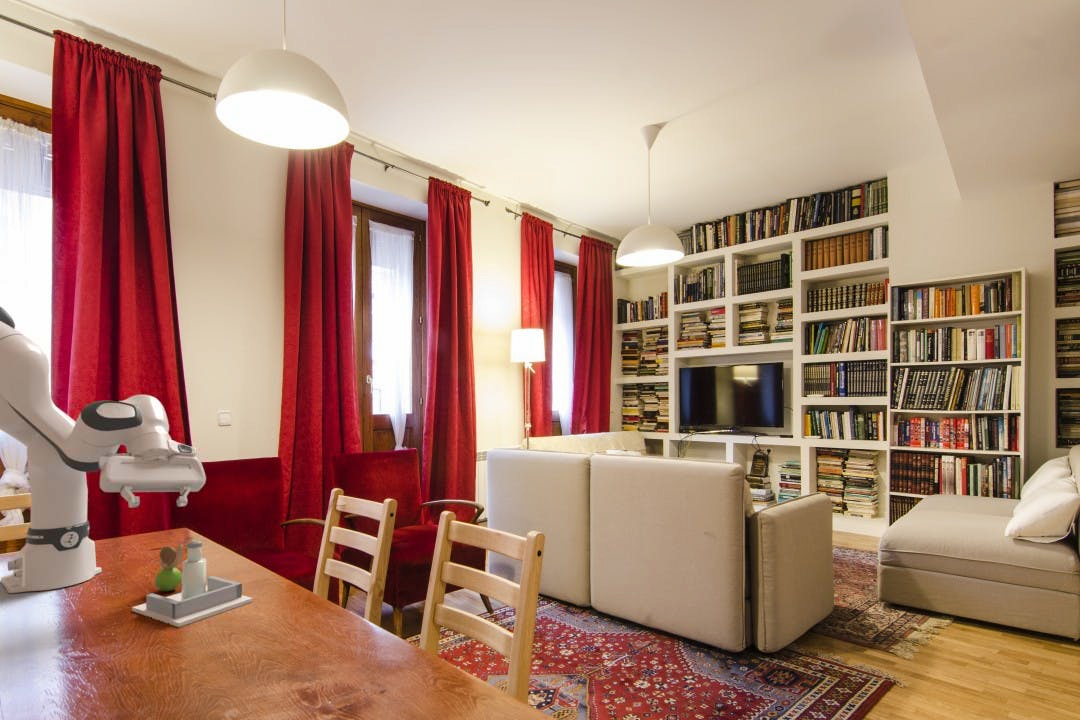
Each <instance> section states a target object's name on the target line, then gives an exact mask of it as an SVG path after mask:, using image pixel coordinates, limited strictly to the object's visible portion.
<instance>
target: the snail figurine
mask: <svg viewBox="0 0 1080 720" xmlns="http://www.w3.org/2000/svg"><path fill="white" fill-rule="evenodd" d="M184 542H185V540H184V539H181V540H179V545H177V546H176V549H175V548H174V547H173V546H171V545H167V546H164V547H163V548H162V549H161V550H160V552H159V559H160V562H159V565H160V567H161V568H163V569H161V570H160V571H159V572H158V573H157V574H156V576H155V580H154V585H155V587H156V588H157V589H158V590H159V591H162V592H165V593H166V592H171V591H173V590H175V589H177V588H178V587H179V586H180V584H182V571H181V570H179V569H178V568H177V567H178V565H179V564H180V562H181V559H182V555H183V550H184V544H182V543H184Z"/></svg>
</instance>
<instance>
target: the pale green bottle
mask: <svg viewBox="0 0 1080 720" xmlns="http://www.w3.org/2000/svg"><path fill="white" fill-rule="evenodd" d="M202 546H203V541H202V540H193V541H188V542H187V543H186V548H187V559H185V560H183V561H182V562H181V574H182V581H181V593H182V594H181V600H184V599H187V598H191V597H194V596H197V595H200V594H203V593H206V585H207V558H206V557H202Z"/></svg>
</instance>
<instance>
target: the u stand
mask: <svg viewBox="0 0 1080 720" xmlns="http://www.w3.org/2000/svg"><path fill="white" fill-rule="evenodd" d="M242 588H243V583H241V582H239V581H233V580H230V579H226V578H222V577H218V576H215V575H212V576H211V575H210V576H209V577H207V584H206V593H203V594H200V595H197V596H194V597H191V598H187V599H184V600H181V594H182V592H178V593H176V594H171V595H169V596H166V597H165V596H163V595H159V594H156V593H153V592H152V593H149V594H145V595H146V598H145V599H146V602H145V603H142V604H139V605H135V606H132V607H131V608H132V609H131V611H132V612H134V613H137V614H140V615H142V616H145V617H148V616H149V617H148V618H151V617H152V619H154V620H156V621H159V620H160V621H159V622H162V621H163V622H162V623H165V624H168V623H169V625H172V626H174V627H176V628H181V627H184V626H187V625H189V624H191V623H195V622H198V621H201V620H204V619H207V618H210V617H212V616H215V615H218V614H221V613H224V612H227V611H230V610H232V609H236V608H238V607H242V606H244V605H246V604H247V605H248V604H250V603H253V602H254V601H253V599H254V598H253V597H250V596H246V595H242V594H243V589H242Z"/></svg>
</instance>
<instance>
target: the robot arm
mask: <svg viewBox="0 0 1080 720" xmlns="http://www.w3.org/2000/svg"><path fill="white" fill-rule="evenodd" d="M49 364H50V363H49V359H48V357H47V355H46V353H44V351H43V350H42V348H40V347H39V346H38V344H36V343H35V342H34V341H32V340H31V339H29V338H28V337H27V336H26V335H24V334H23V333H21V332H20V331H18V330H17V329H16V324H15V321H14V319H13V317H12V316H11V315H10V314H9V313H8V312H7V311H6V310H5V309H4V308H3V307H2V306H0V430H1V431H2V432H4V433H5V434H7V435H9V436H10V437H12V438H13V439H15V440H16V441H18V442H20V443H21V444H22V445H24V446H25V447H26V457H27V471H28V474H27V475H28V482H29V489H30V526H29V527H28V528H27V533H26V535H25V536H26V537H25V545H24V546H23V547H22V548H20V549H21V550H19V552H18V553H16V555H15V556H14V558H13V560H12V559H11V560H9V561H8V562H7V571H9V572H11V571H12V573H9V574H6V575H3V576H2V577H0V583H1V584H2V586H3V587H4V588H5V589H6V591H7V593H9V594H16V593H25V592H36V591H49V590H54V589H55V590H56V589H61V588H65V587H70V586H74V585H78V584H80V583H81V584H82V583H84V582H86V581H89V580H91V579H92V578H93V577H95V576H96V575H97V574H100V573H102V567H100V566H97V561H96V560H97V559H96V544H95V541H94V540H93V539H91V538H89V535H90V521H89V520H88V501H89V498H88V494H89V493H88V492H89V489H88V484H87V483H88V481H87V473H95V472H99V471H100V475H99V488H100V489H101V490H102V491H103V492H104V493H120V496H121V497H123V498H124V500H125V501H126V502H128V508H138V507H139V505H140V503H141V501H140V495H139V496H135V494H134V493H151V492H152V493H158V492H159V493H165V492H166V493H167V492H168V493H169V492H170V493H172V492H173V493H175V492H176V493H177V492H178V493H179V494H180V495H179V497H178V498H177V499H176V506H177V507H186V506H187V504H188V501H189V500H188V495H189V493H190V492H193V493H195V492H196V493H197V492H200V490H201V489H202V488H203V487H204V485H205V484H206V481H207V476H206V473H205V468H204V467H203V464H202V462H201V460H200V459H199V458H197V457H196V456H197V454H198V453H197V452H198V451H197V449H196V447H194V446H190V445H186V444H183V443H181V442H177V441H176V440H172V437H171V435H170V434H169V432H170V424H169V419H168V416H167V413H166V410H165V407H164V406H163V404H162V402H161V401H160V400H159V399H158V398H156V397H155V396H152V395H149V394H136V395H132V396H130V397H128V398H127V399H124V400H119V401H116V400H97V401H92V402H91V403H88V404H86V405H85V406H84V407H83V408H82V410H81V412H79V415H78V417H77V419H76V421H75V420H74V419H73V418H71V416H70V415H68V414H67V413H65V412H64V411H63V410H62V409H60V408H58V407H57V406H56V405H55V403H54V402H53V399H52V397H51V393H50V382H49V381H50V380H49V379H50V378H49V377H50V376H49V375H50V374H49V373H50V365H49ZM121 445H122V446H125V448H126V452H127V453H123V452H122V453H118V451H119V448H120V446H121Z"/></svg>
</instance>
